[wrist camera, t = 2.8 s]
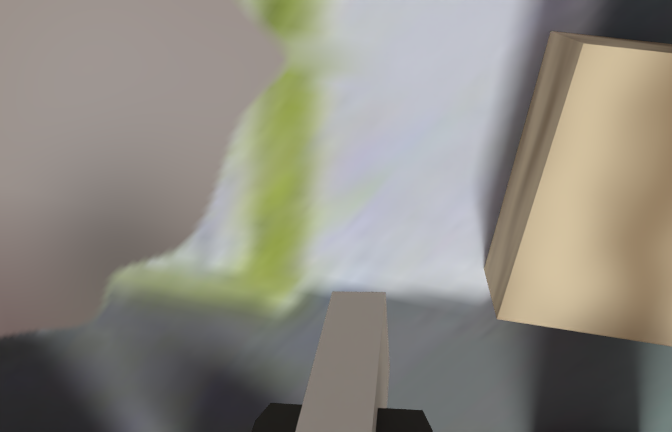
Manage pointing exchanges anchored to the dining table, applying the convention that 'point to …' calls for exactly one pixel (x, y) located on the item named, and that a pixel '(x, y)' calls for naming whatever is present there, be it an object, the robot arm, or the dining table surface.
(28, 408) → the dining table surface
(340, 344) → the robot arm
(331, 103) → the dining table surface
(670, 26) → the dining table surface
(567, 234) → the birch block
